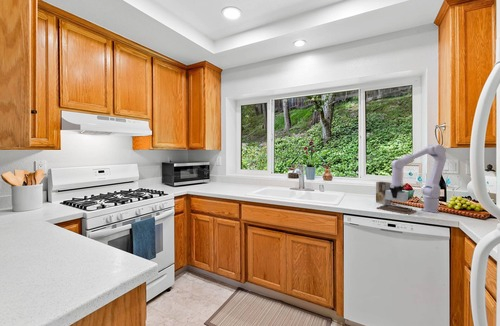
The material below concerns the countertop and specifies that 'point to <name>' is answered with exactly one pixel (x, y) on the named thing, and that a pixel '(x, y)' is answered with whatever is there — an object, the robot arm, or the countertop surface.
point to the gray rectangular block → (401, 196)
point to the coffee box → (382, 192)
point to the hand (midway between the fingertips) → (396, 197)
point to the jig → (397, 209)
